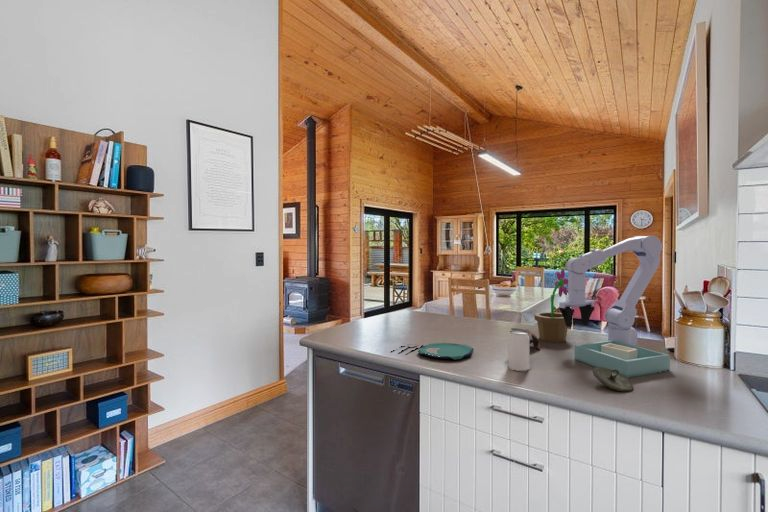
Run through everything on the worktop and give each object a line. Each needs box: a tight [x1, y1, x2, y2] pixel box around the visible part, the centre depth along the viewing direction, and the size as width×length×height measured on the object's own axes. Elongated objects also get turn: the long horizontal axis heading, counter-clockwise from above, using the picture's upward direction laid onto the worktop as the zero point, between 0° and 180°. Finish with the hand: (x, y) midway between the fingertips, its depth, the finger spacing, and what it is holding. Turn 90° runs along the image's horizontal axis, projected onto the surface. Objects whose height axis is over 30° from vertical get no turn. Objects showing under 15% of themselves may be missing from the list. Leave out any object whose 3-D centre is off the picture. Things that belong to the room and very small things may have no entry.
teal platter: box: [417, 342, 474, 361], centre depth 147 cm, size 20×30×2 cm, turn 58°
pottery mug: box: [524, 328, 541, 351], centre depth 150 cm, size 12×10×8 cm
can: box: [507, 330, 530, 372], centre depth 125 cm, size 6×6×12 cm
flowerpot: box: [533, 268, 569, 343], centre depth 161 cm, size 14×14×30 cm
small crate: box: [601, 343, 637, 360], centre depth 128 cm, size 5×9×5 cm, turn 29°
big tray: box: [574, 340, 671, 379], centre depth 127 cm, size 18×20×5 cm
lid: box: [592, 366, 634, 393], centre depth 109 cm, size 11×10×5 cm
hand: (576, 325), depth 144 cm, fingers open, 7 cm apart
